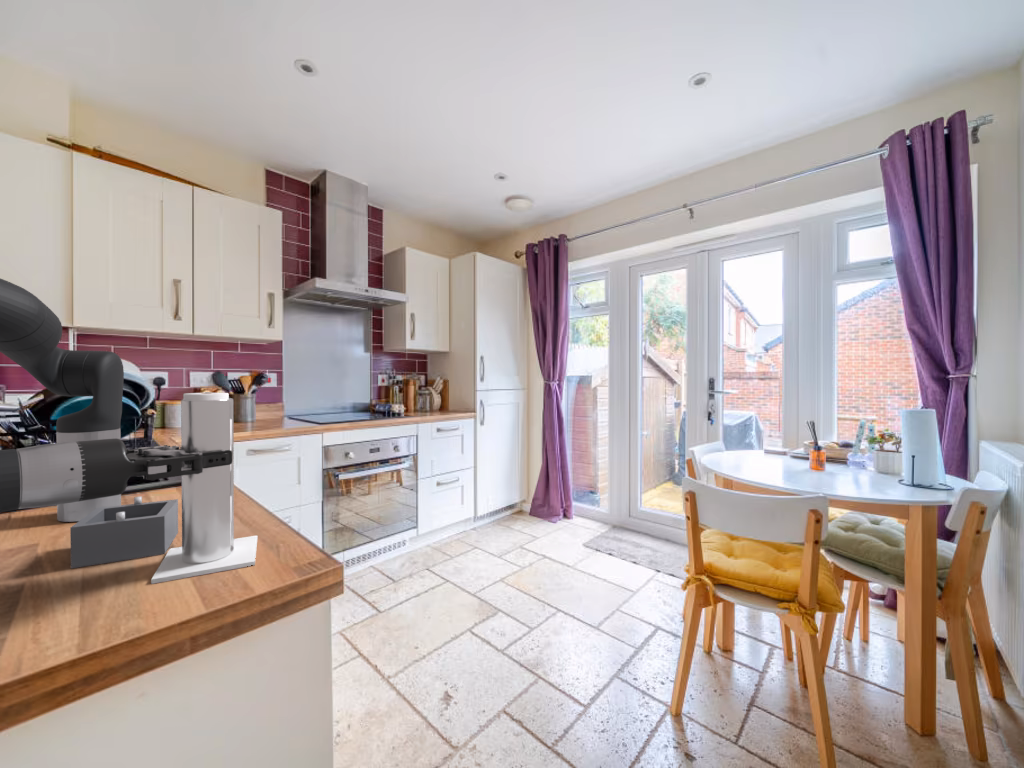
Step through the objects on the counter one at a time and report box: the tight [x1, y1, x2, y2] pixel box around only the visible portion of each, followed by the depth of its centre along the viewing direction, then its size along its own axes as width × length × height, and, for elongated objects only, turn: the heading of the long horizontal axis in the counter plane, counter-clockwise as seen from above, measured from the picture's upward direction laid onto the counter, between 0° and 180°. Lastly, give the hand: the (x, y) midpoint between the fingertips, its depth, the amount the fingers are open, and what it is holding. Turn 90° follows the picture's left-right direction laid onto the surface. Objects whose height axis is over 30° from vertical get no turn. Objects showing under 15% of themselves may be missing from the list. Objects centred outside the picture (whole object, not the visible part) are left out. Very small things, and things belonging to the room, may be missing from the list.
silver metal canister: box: [180, 391, 235, 564], centre depth 65 cm, size 6×6×25 cm
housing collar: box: [70, 496, 179, 569], centre depth 70 cm, size 11×11×7 cm
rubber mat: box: [150, 535, 259, 585], centre depth 66 cm, size 12×12×1 cm
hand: (219, 453), depth 67 cm, fingers open, 8 cm apart
